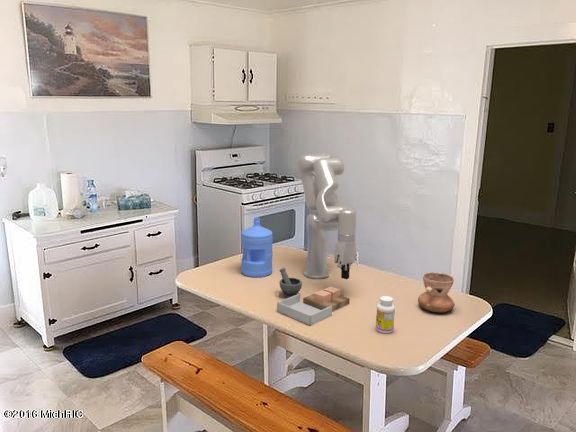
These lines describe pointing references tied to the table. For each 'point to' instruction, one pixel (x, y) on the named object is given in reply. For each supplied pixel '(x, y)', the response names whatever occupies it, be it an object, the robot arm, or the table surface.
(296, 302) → the tray
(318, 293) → the tile
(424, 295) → the ceramic jug
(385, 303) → the supplement bottle
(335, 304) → the board
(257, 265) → the water jug
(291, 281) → the mortar and pestle
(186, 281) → the table surface
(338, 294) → the tile
